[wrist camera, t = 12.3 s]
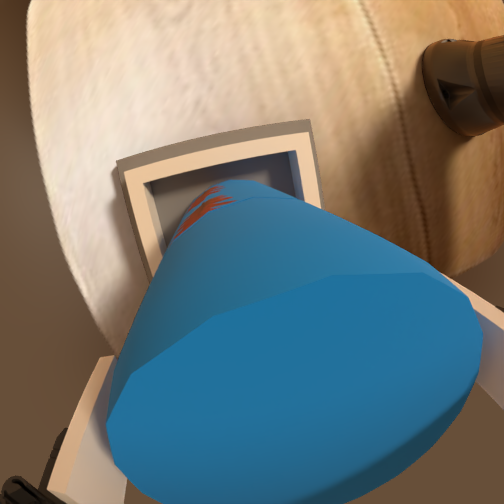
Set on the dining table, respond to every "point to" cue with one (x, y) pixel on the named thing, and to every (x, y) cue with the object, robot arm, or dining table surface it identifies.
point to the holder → (213, 177)
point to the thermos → (285, 357)
